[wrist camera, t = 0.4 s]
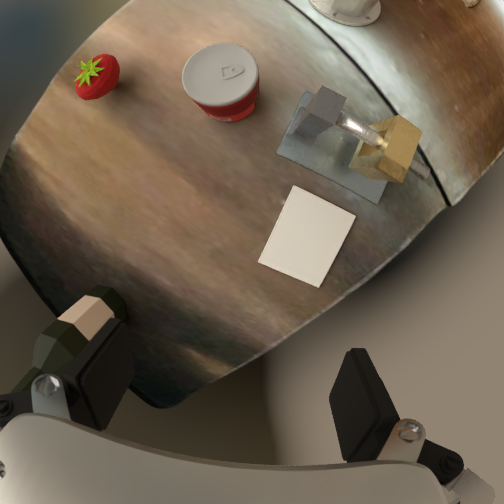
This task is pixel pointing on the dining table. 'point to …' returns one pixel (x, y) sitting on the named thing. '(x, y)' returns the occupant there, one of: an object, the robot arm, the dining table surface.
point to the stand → (334, 143)
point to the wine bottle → (72, 333)
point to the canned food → (223, 81)
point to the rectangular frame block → (388, 151)
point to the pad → (306, 237)
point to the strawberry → (97, 77)
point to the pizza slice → (470, 2)
